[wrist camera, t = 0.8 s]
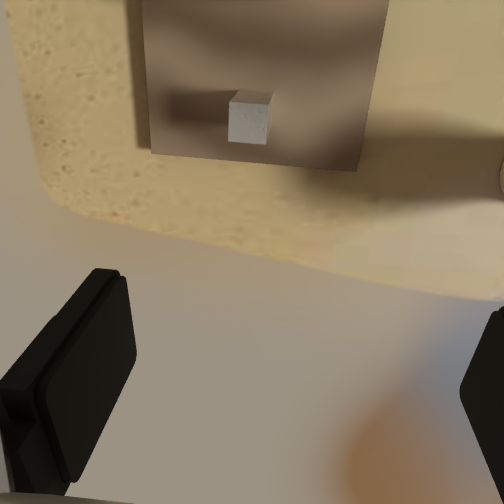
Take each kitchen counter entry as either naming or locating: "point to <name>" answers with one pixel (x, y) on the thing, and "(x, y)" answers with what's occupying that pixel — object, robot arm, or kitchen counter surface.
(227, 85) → the post board
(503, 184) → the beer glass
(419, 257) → the kitchen counter surface
